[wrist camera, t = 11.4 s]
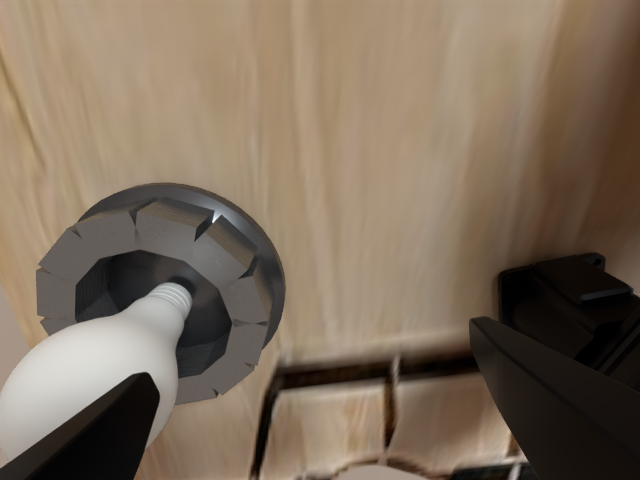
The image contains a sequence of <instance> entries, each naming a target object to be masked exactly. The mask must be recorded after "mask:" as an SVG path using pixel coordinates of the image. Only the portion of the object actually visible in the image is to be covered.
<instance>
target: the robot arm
mask: <svg viewBox="0 0 640 480" xmlns="http://www.w3.org/2000/svg"><path fill="white" fill-rule="evenodd" d="M595 259H596V261H595V262H594V260H595ZM604 269H605V257H604V256H602V255H600V254H598V253H589V254H584V255H579V256H576V255H573V256H568V257H563V258H558V259H553V260H548V261H543V262H538V263H536V264H534V265H529V266H524V267H519V268H514V269H509V270H505V271H502V272H501V273H500V274H499V276H498V292H499V321H500V323H499V322H497V321H495V320H493V319H491V318H489V317H487V316H482V317H476V318H471V319H470V320H469V334H470V346H471V350H472V353H473V355H474V357H475V360H476V362H477V364H478V366H479V369H480V371H481V373H482V375H483V377H484V380H485V382H486V384H487V386H488V388H489V391H490V393H491V395H492V397H493V399H494V402H495V404H496V406H497V408H498V410H499V412H500V413H501V415H502V417H503V419H504V421H505V422H506V424H507V426H508V427H509V429H510V431H511V432H512V434H513V436H514V438H515V439H516V441H517V443H518V444H519V446H520V448H521V450H522V451H523V453H524V455H525V456H526V458H527V460H528V461H529V463H530V465H531V467H532V468H533V470H534V472H535V473H536V475H537V477H538V479H539V480H640V297H638V296H637V295H635V294H633V288H632V287H631V286H629V285H628V284H626V283H624V282H622V281H620V280H619V279H617V278H615V277H613V276H612V275H610V274H608V273H606V272H604ZM508 276H510V277H509V279H507V280H505V279H506V278H507V277H508ZM159 403H160V392H159V390H158V388H157V386H156V384H155V383H154V381H153V379H152V377H151V375H150V374H149V373H148V372H140V373H135V374H132V375H130V376H129V377H127V378H126V379H125V380H123V381H122V382H120V383H119V384H118V385H116V386H115V387H113V388H112V389H111V390H109V391H108V392H106V393H105V394H104V395H102V396H101V397H99V398H98V399H97V400H95V401H94V402H92V403H91V404H90V405H88V406H87V407H85V408H84V409H83V410H81V411H80V412H78V413H77V414H76V415H74V416H73V417H72V418H70V419H69V420H67V421H66V422H65V423H63V424H62V425H60V426H59V427H58V428H56V429H55V430H53V431H52V432H51V433H49V434H48V435H46V436H45V437H44V438H42V439H41V440H39V441H38V442H37V443H35V444H34V445H32V446H31V447H30V448H28V449H27V450H25V451H24V452H23V453H21V454H20V455H19V456H17V457H16V458H14V459H13V460H12V461H10V462H9V463H7V464H6V465H5V466H3V467H2V468H0V480H133V479H134V477H135V474H136V472H137V469H138V467H139V464H140V462H141V459H142V456H143V453H144V450H145V447H146V444H147V441H148V438H149V435H150V431H151V428H152V425H153V422H154V419H155V415H156V412H157V409H158V406H159Z"/></svg>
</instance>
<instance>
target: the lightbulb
mask: <svg viewBox="0 0 640 480" xmlns="http://www.w3.org/2000/svg"><path fill="white" fill-rule="evenodd" d="M191 307H192V298H191V295H190V293H189V292H188V291H187V290H186V289H185V288H184V287H182V286H181V285H178V284H176V283H163V284H160V285H158V286H157V287H156V288H155V289H153V290H152V291H151V292H150V293H149V294H148V295H147V296H145V297H143V298H140V299H138V300H136V301H135V302H134V303H132V304H131V305H130V306H129V307H128V308H127V309H125V310H123V311H122V312H120V313H118V314H115V315H113V316H108V317H102V318H96V319H93V320H89V321H85V322H81V323H78V324H75V325H72V326H69V327H66V328H64V329H62V330H60V331H59V332H57V333H55V334H53V335H51V336H49V337H48V338H46V339H44V340H43V341H41V342H40V343H39V344H38V345H36V346H35V347H34V348H33V349H32V350H30V351H29V353H27V355H26V356H25V357H24V358H23V359H22V360H21V361H20V362H19V364H18V365H17V366H16V367H15V369H14V370H13V371H12V373H11V375H10V376H9V378H8V380H7V381H6V383H5V385H4V387H3V389H2V391H1V393H0V447H1V449H2V451H3V454H4V456H5V457H6V458H7V460H8V461H9V462H10V461H12V460H13V459H14V458H16V457H17V456H19V455H20V454H21V453H23V452H24V451H25V450H27V449H28V448H30V447H31V446H32V445H34V444H35V443H37V442H38V441H39V440H41V439H42V438H44V437H45V436H46V435H48V434H49V433H51V432H52V431H53V430H55V429H56V428H58V427H59V426H60V425H62V424H63V423H65V422H66V421H67V420H69V419H70V418H72V417H73V416H74V415H76V414H77V413H78V412H80V411H81V410H83V409H84V408H85V407H87V406H88V405H90V404H91V403H92V402H94V401H95V400H97V399H98V398H99V397H101V396H102V395H104V394H105V393H106V392H108V391H109V390H111V389H112V388H113V387H115V386H116V385H118V384H119V383H120V382H122V381H123V380H125V379H126V378H127V377H129V376H130V375H132V374H135V373H140V372H148V373H149V374H150V375H151V377H152V379H153V381H154V383H155V384H156V386H157V388H158V390H159V392H160V403H159V406H158V409H157V412H156V415H155V419H154V422H153V425H152V428H151V431H150V435H149V438H148V441H147V444H146V447H145V450H146V449H147V448H148V447H149V446H150V445H151V443H152V442H153V441H154V440H155V438H156V437H157V436H158V434H159V433H160V432H161V430H162V429H163V428H164V427H165V425H166V423H167V421H168V419H169V417H170V415H171V413H172V410H173V408H174V405H175V400H176V396H177V391H178V367H177V361H176V355H175V351H176V345H177V342H178V339H179V338H180V336H181V334H182V331H183V329H184V321H185V320H186V317H187V316H188V314H189V311H190V310H191ZM145 450H144V451H145Z"/></svg>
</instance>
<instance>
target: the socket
mask: <svg viewBox="0 0 640 480" xmlns="http://www.w3.org/2000/svg"><path fill="white" fill-rule="evenodd" d="M38 265H40V266H41V268H40V269H38V270H36V288H37V315H39V316H43V317H45V318H44V319H43V320H41V321H40V323H41V324H42V326H43V327H44V329H45V330H46V332H47V333H48V335H49V336H51V335H53V334H55V333H57V332H59V331H60V330H62V329H64V328H66V327H69V326H72V325H75V324H78V323H81V322H85V321H89V320H93V319H96V318H102V317H108V316H113V315H115V314H118V313H120V312H122V311H123V310H125V309H127V308H128V307H129V306H130V305H131V304H132V303H134V302H135V301H136V300H138V299H140V298H143V297H145V296H147V295H148V294H149V293H150V292H151V291H152V290H153V289H155V288H156V287H157V286H158V285H160V284H163V283H176V284H178V285H181V286H182V287H184V288H185V289H186V290H187V291H188V292H189V293H190V295H191V298H192V307H191V310H190V311H189V314H188V316H187V317H186V320H185V321H184V329H183V331H182V334H181V336H180V338H179V339H178V342H177V345H176V351H175V355H176V361H177V367H178V391H177V396H176V400H175V405H179V404H185V403H190V402H196V401H201V400H206V399H212V398H217V396H218V393H220V394H222V395H223V394H225V393H226V392H227V391H228V390H230V389H231V388H232V387H233V386H235V385H236V384H237V383H239V382H240V381H241V380H242V379H244V378H245V377H246V376H247V375H249V374H250V373H251V372H252V371H254V368H255V365H258V361H259V358H260V354H261V351H262V349H264V348H265V346H266V345H267V344H268V343H269V341H270V340H271V339H272V337H273V335H274V333H275V332H276V330H277V328H278V325H279V323H280V320H281V316H282V312H283V307H284V302H285V290H286V287H285V276H284V271H283V267H282V263H281V261H280V258H279V256H278V253H277V251H276V249H275V247H274V245H273V244H272V242H271V240H270V239H269V237H268V236H267V235H266V233H265V232H264V231H263V229H262V228H261V227H260V226H259V225H258V224H257V223H256V222H255V221H254V219H253V218H252V217H250V216H249V215H248V214H247V213H245V212H244V211H243V210H242V209H241V208H239V207H238V206H236V205H235V204H233V203H232V202H230V201H228V200H227V199H225V198H223V197H221V196H219V195H217V194H215V193H212V192H209V191H207V190H204V189H201V188H198V187H194V186H189V185H184V184H176V183H150V184H144V185H138V186H135V187H132V188H129V189H125V190H123V191H120V192H118V193H115V194H113V195H111V196H109V197H107V198H105V199H103V200H101V201H99V202H98V203H97V204H95V205H94V206H93V207H91V208H90V209H89V210H88V211H87V212H86V213H85V214H84V215H83V216H82V217H81V218H80V219H79V221H78V222H77V223H76V224H74V225H73V226H71V227H69V228H67V229H66V231H65V232H64V233H63V234H62V236H61V237H60V238H59V239H58V240H57V242H56V243H55V244H54V245H53V247H52V248H51V249H50V250H49V251H48V253H47V254H46V255H45V256H44V258H43V259H42V260H41V261H40V262H39V264H38Z"/></svg>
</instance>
